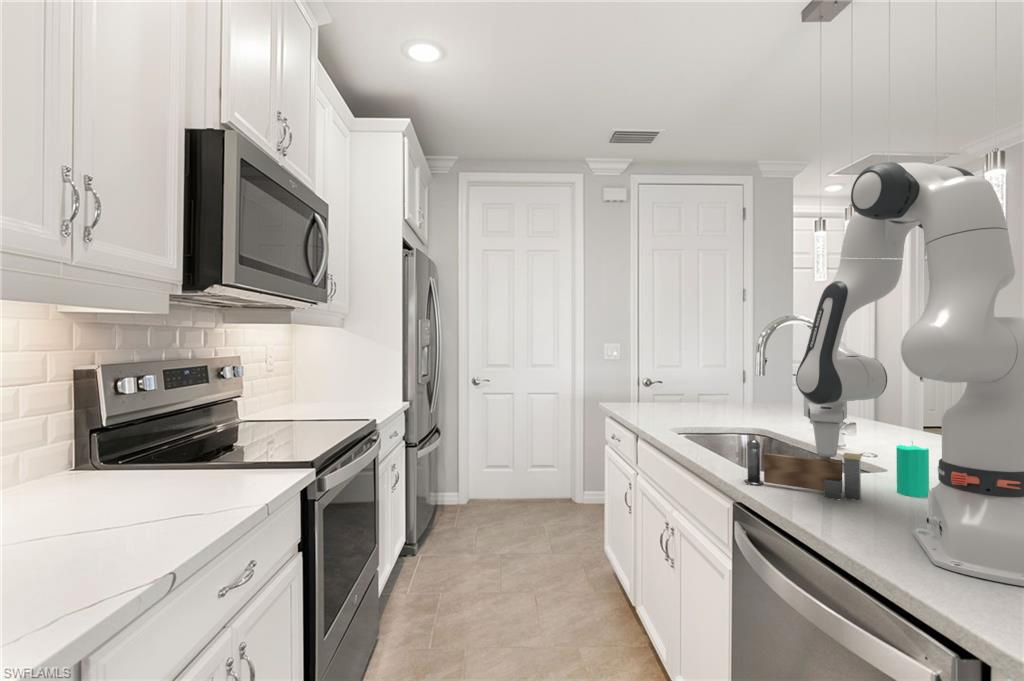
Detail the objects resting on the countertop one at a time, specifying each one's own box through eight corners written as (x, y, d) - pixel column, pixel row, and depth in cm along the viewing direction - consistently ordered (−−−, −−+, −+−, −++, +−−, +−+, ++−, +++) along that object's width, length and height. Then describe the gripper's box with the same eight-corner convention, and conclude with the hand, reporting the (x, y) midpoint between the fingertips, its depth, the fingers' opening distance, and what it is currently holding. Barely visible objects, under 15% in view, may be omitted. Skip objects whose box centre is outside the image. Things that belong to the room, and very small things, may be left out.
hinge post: (761, 486, 127) (761, 441, 127) (742, 483, 130) (741, 439, 130) (765, 482, 131) (765, 438, 130) (746, 479, 133) (746, 437, 133)
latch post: (859, 502, 114) (859, 458, 114) (824, 497, 118) (824, 454, 118) (861, 497, 118) (861, 454, 118) (827, 492, 122) (827, 450, 122)
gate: (764, 482, 128) (763, 452, 128) (765, 480, 129) (765, 451, 129) (841, 493, 118) (841, 461, 118) (842, 492, 119) (842, 460, 119)
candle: (934, 498, 117) (933, 444, 117) (902, 496, 119) (901, 442, 119) (923, 490, 122) (922, 439, 122) (892, 488, 124) (892, 437, 124)
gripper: (809, 403, 135) (809, 457, 136) (810, 414, 117) (810, 476, 118) (837, 405, 132) (838, 460, 133) (843, 416, 114) (843, 480, 115)
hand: (825, 468), depth 125 cm, fingers closed
